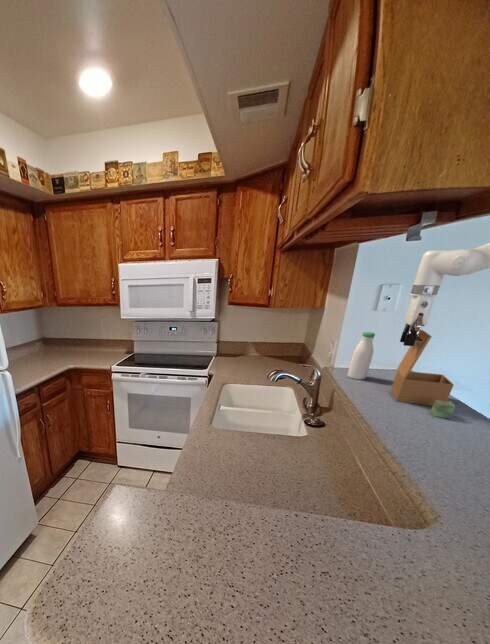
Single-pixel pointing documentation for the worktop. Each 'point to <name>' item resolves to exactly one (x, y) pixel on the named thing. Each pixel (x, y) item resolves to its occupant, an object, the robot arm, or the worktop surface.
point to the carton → (421, 388)
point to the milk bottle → (362, 357)
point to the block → (443, 408)
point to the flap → (413, 353)
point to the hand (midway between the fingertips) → (406, 343)
